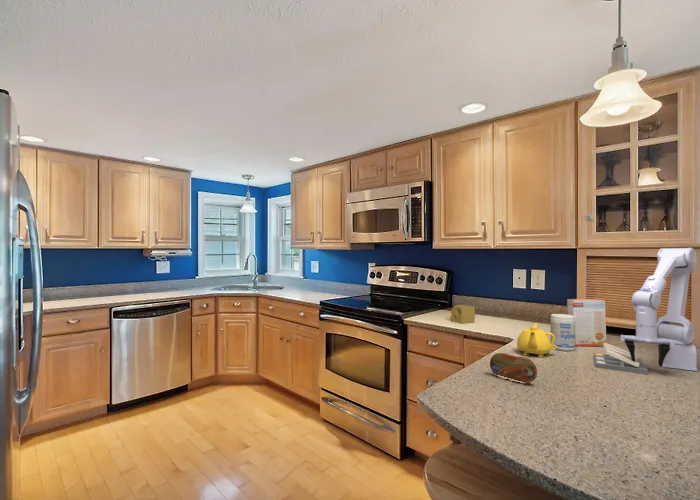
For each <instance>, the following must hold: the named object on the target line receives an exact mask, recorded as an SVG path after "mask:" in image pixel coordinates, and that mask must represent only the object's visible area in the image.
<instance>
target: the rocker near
mask: <svg viewBox="0 0 700 500" xmlns="http://www.w3.org/2000/svg"><path fill="white" fill-rule="evenodd" d="M604 354H605V355H610V356H612V357H615V358H617V359H620V360H622V361H624V362H627V363H629V364H632V365H634V366H636V367H639V365H640V364H639V362H636V361H635V362H633V361H632V359H629V358H627V357H624V356H622V355H620V354H617V353H615V352H612V351H610V350H607V349H606V350H604Z"/></svg>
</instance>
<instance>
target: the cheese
mask: <svg viewBox="0 0 700 500" xmlns="http://www.w3.org/2000/svg"><path fill="white" fill-rule="evenodd" d="M450 314H451V315H450V318H449V319H450V322H452V321H454V323H456V322H457V324H461V325H466V324H472V323H475V321H476V309H475V306H473V305H466V304H457V305H454V306H453V308H451V310H450ZM465 323H466V324H465Z"/></svg>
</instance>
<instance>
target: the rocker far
mask: <svg viewBox="0 0 700 500" xmlns="http://www.w3.org/2000/svg"><path fill="white" fill-rule="evenodd" d="M603 346H604V347H605V346H607V347H610V348H612V349H615V350H617V351H620V352H622V353H625V354H627V355H630V352H629V351H627V350H624V349H622V348H620V347H617V346H614V345H612V344H609V343H607V342H606V343H605V342H604V344H603ZM604 347H603V348H604ZM630 356H631V355H630Z"/></svg>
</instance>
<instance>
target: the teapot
mask: <svg viewBox="0 0 700 500" xmlns="http://www.w3.org/2000/svg"><path fill="white" fill-rule="evenodd" d="M538 328H539V327H538V323H537V322H536V323H534V324H533V325H532V326H530V328H524V329H523V330H522V331H521V333H520V334H519V336H518V337H517V341H516V346H517V348H518V349H519V350H520V351H521V352H523V354H526V355H525V356H530V354H535V355H537V357H538V356H541V357H540V358H545V355H546V354H548V353H549V352H550V351H552V350H553V351H556V350H557V346H556V345H553V344H554V341H555V336H554V335H553V334H552V333H551V331H549V332H545V331H544V330H543V329H540V328H539V329H538ZM548 335H549V336H551V335H552V337H553V340H552V343H551V341H550V340H551V338H549V336H548ZM553 346H555V348H553ZM523 354H522V355H523Z"/></svg>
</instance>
